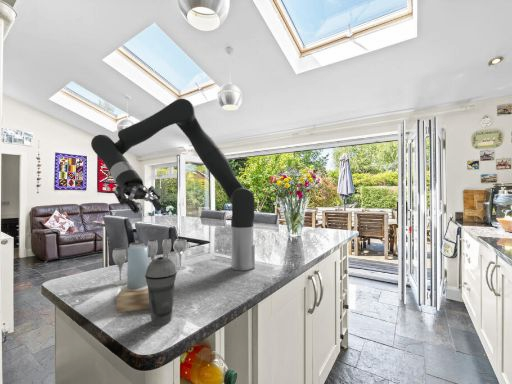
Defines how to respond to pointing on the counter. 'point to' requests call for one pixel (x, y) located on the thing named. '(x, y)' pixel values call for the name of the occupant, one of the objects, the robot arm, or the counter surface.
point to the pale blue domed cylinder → (137, 266)
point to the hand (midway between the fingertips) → (149, 210)
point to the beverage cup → (161, 288)
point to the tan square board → (132, 299)
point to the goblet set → (122, 253)
